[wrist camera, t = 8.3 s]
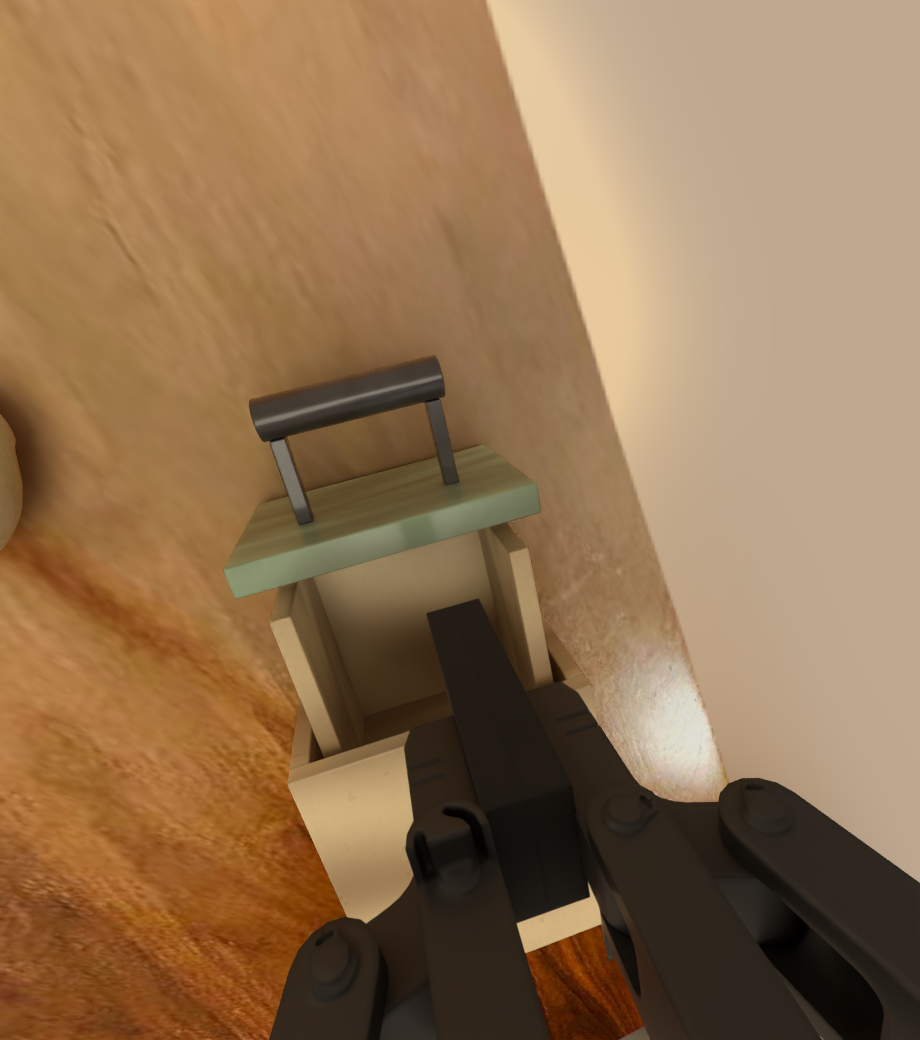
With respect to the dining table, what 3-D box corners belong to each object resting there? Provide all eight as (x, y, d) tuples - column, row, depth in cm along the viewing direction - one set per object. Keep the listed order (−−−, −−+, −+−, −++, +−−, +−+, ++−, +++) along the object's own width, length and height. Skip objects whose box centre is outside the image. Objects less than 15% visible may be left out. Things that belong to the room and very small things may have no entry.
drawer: (218, 400, 23) (161, 427, 16) (464, 341, 25) (512, 341, 17) (340, 722, 30) (339, 844, 23) (530, 662, 31) (585, 760, 24)
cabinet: (305, 648, 29) (286, 784, 20) (521, 584, 30) (592, 684, 22) (376, 833, 34) (387, 1007, 25) (558, 771, 36) (628, 914, 27)
